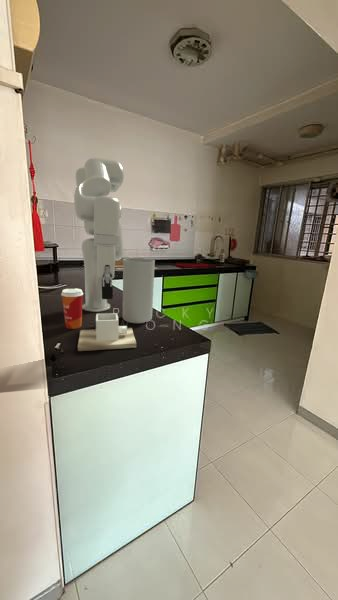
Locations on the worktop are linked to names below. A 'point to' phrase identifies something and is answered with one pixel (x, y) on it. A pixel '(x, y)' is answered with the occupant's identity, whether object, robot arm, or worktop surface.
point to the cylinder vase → (138, 289)
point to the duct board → (89, 341)
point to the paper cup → (72, 307)
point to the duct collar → (108, 327)
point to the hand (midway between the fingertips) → (106, 294)
